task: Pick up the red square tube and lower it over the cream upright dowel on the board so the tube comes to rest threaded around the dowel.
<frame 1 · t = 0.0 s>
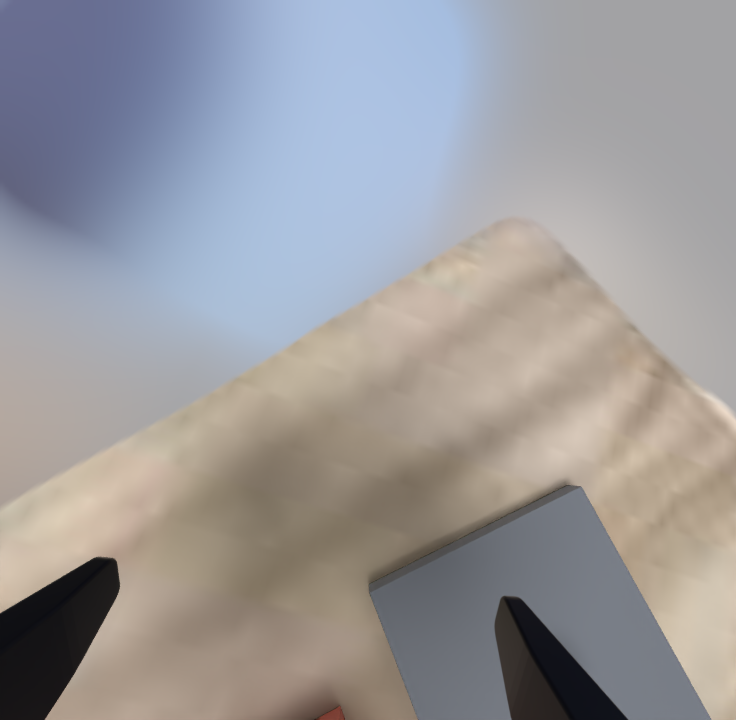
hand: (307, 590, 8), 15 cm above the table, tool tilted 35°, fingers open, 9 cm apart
lacing board: (538, 673, 21), on the table
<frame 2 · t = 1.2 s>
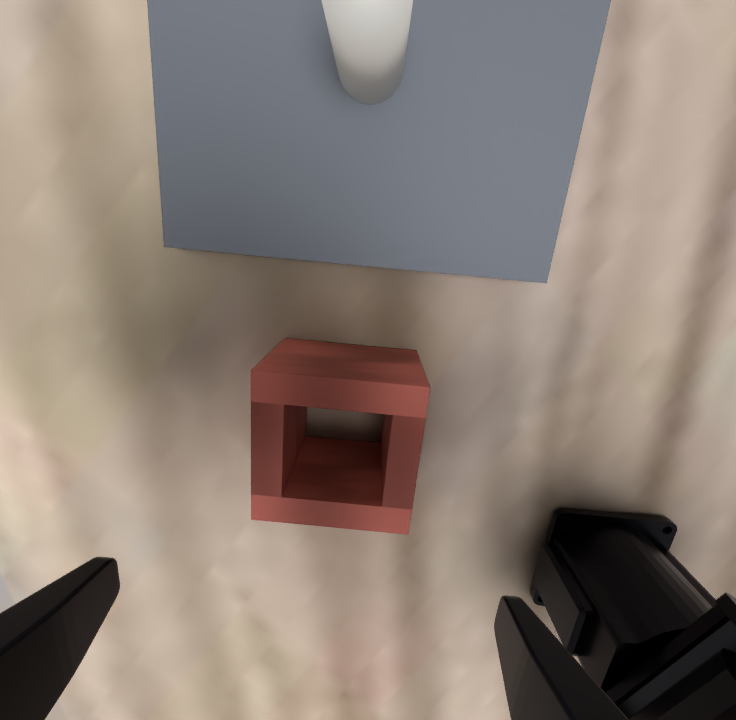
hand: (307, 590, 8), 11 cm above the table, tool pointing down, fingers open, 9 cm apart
lacing board: (371, 83, 15), on the table
red square tube: (346, 404, 19), on the table
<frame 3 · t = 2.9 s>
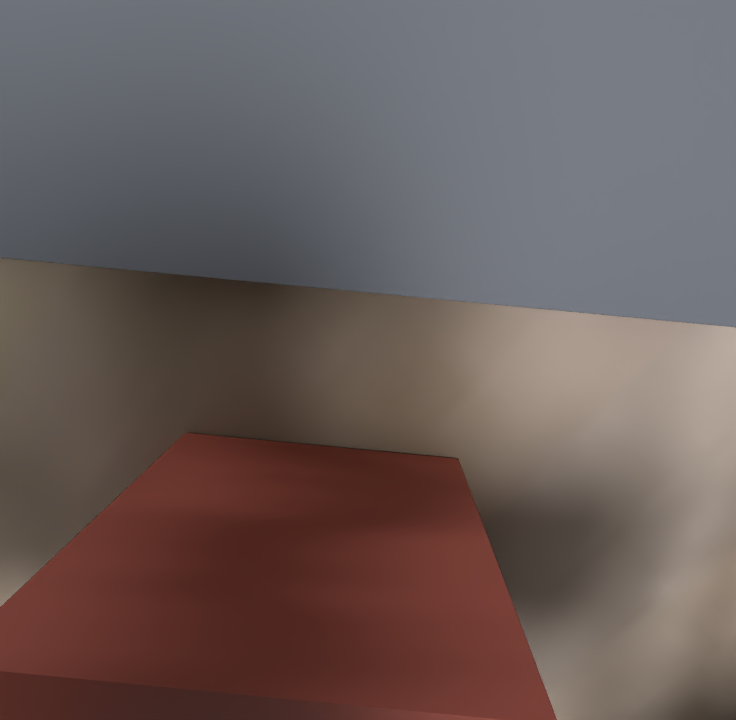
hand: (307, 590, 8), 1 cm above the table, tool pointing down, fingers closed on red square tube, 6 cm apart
red square tube: (315, 555, 9), on the table, touching gripper
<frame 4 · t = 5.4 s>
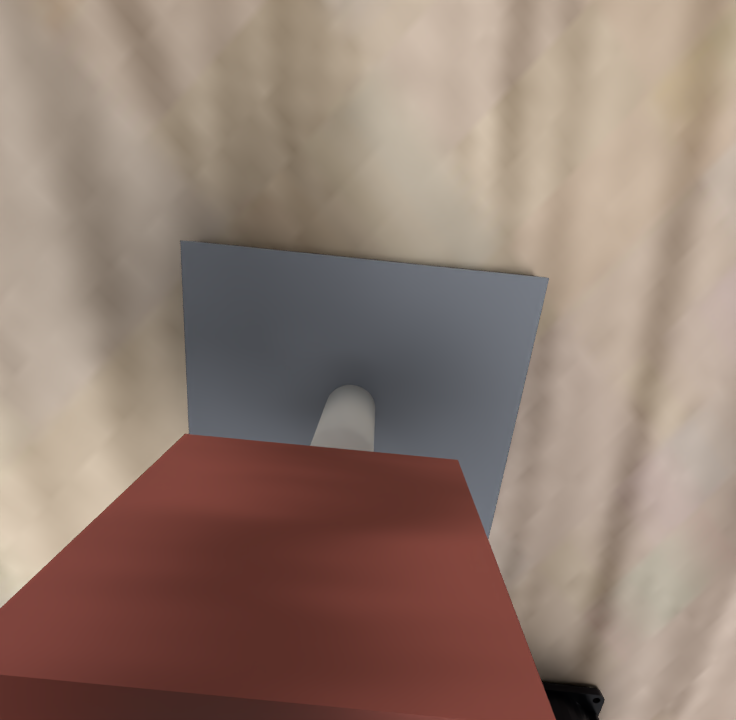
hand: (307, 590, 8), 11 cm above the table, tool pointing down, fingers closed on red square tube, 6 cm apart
lacing board: (352, 396, 19), on the table
red square tube: (314, 556, 9), point 10 cm above the table, touching gripper
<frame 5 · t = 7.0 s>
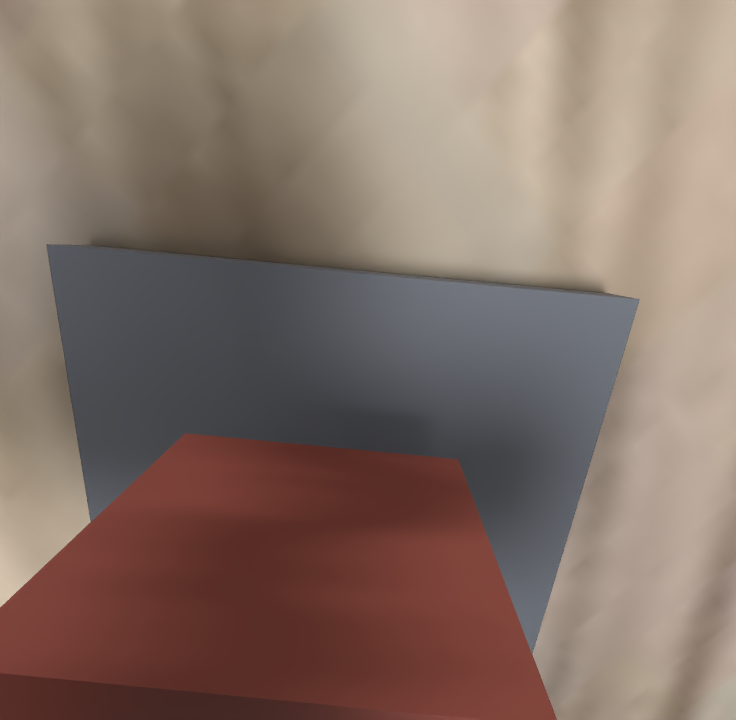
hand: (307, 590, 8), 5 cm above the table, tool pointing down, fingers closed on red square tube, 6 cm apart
lacing board: (333, 466, 13), on the table
red square tube: (315, 555, 9), point 4 cm above the table, touching gripper
when the fingers open (5 cm above the table, at t = 8.0 s): red square tube drops 2 cm, resting on lacing board.
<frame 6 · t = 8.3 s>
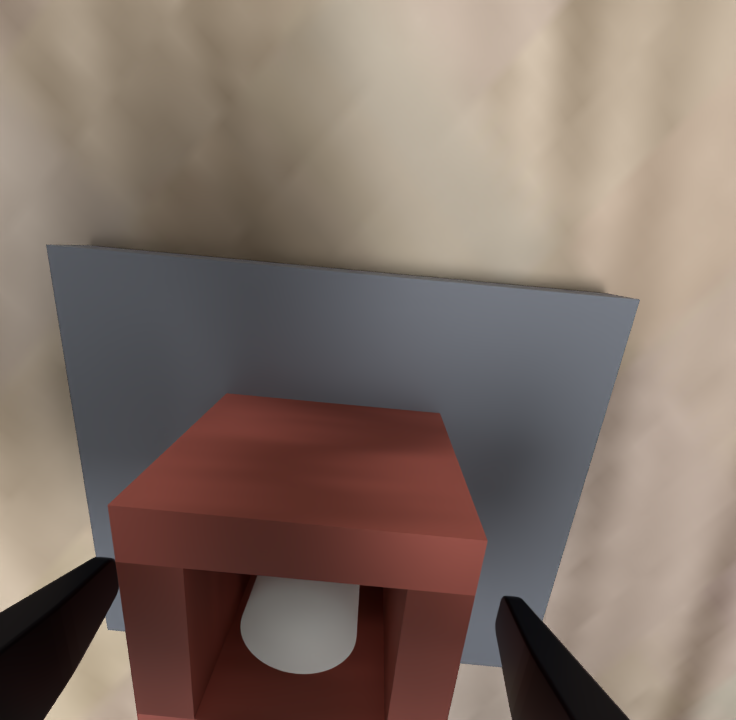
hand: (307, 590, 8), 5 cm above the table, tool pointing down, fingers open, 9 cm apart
lacing board: (333, 466, 13), on the table
red square tube: (327, 493, 12), point 1 cm above the table, touching lacing board
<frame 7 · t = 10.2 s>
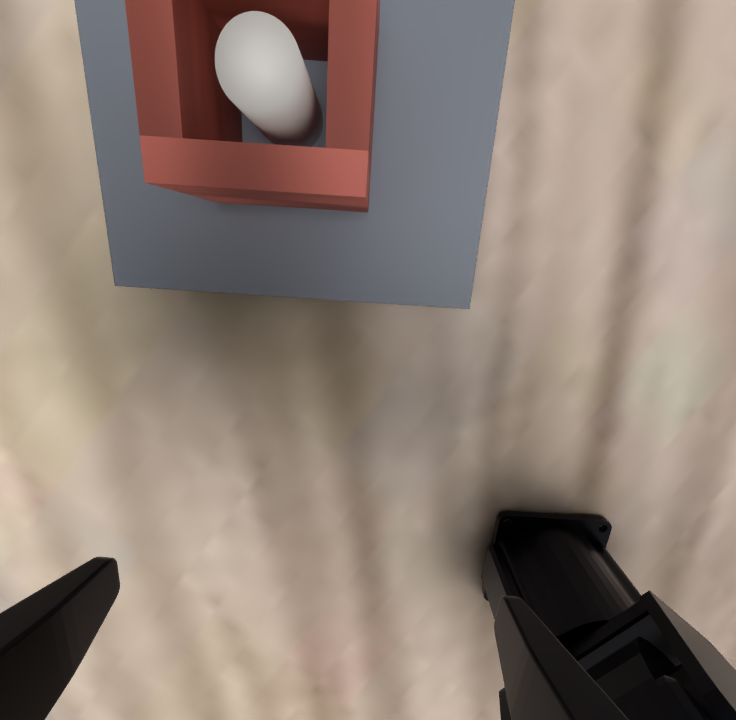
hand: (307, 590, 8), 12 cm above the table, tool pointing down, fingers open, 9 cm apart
lacing board: (300, 130, 16), on the table
red square tube: (292, 119, 14), point 1 cm above the table, touching lacing board
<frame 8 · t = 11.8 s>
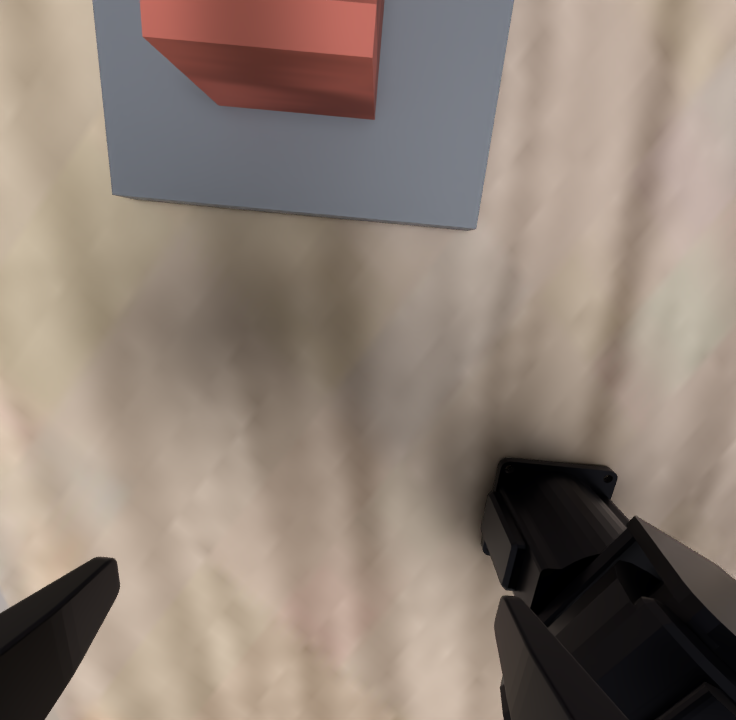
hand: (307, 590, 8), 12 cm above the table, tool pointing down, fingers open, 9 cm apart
lacing board: (307, 37, 15), on the table
red square tube: (299, 16, 14), point 1 cm above the table, touching lacing board
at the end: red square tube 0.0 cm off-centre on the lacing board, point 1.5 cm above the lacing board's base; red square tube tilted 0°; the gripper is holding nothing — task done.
